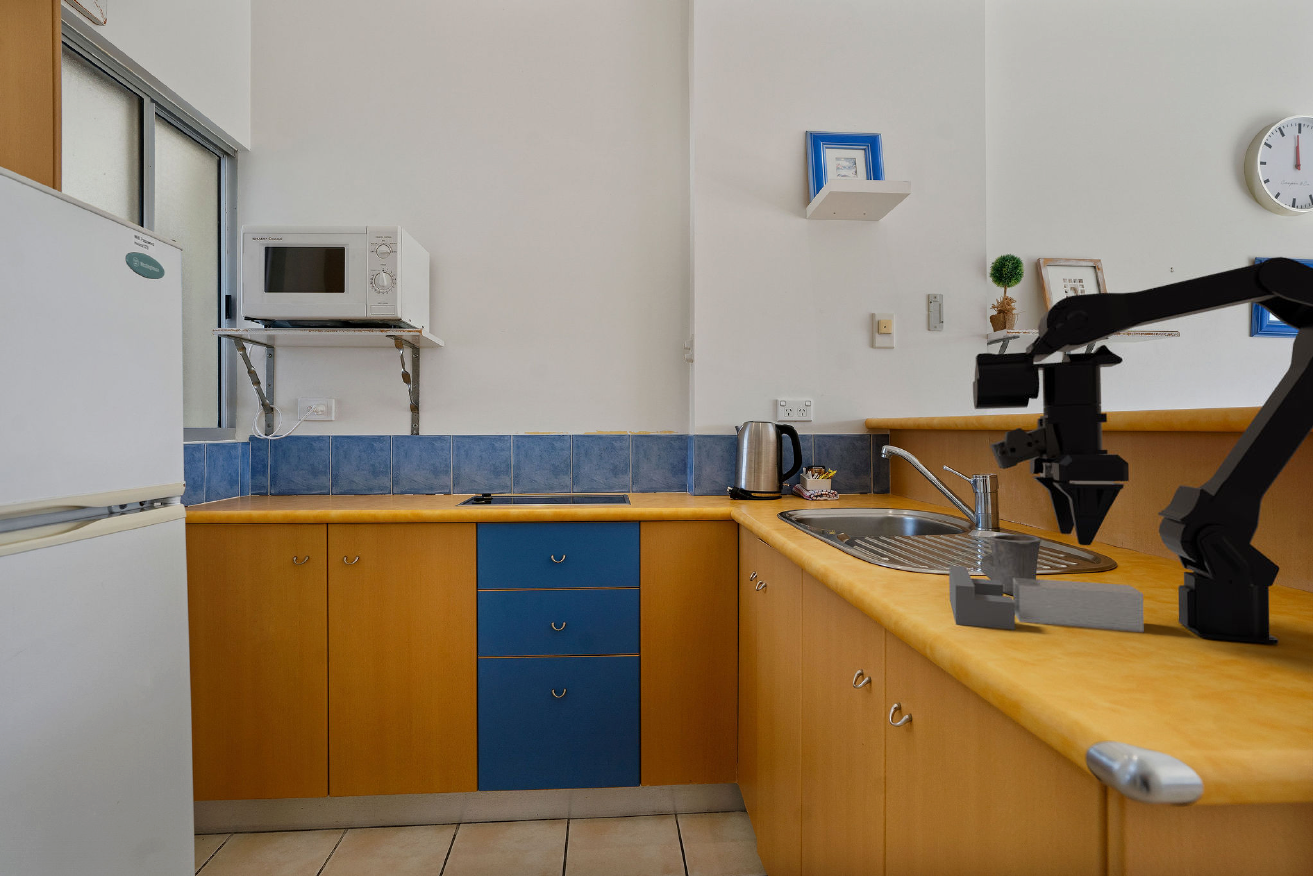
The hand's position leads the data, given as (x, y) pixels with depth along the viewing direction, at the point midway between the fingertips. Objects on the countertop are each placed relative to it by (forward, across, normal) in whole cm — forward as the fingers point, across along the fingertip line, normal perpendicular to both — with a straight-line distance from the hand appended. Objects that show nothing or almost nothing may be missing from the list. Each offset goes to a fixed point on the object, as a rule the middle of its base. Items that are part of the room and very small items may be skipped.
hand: (1074, 539), depth 74 cm
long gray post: (+10, 0, 0) cm, 10 cm away
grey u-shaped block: (+10, 0, -10) cm, 14 cm away
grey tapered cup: (+10, -15, -5) cm, 19 cm away
